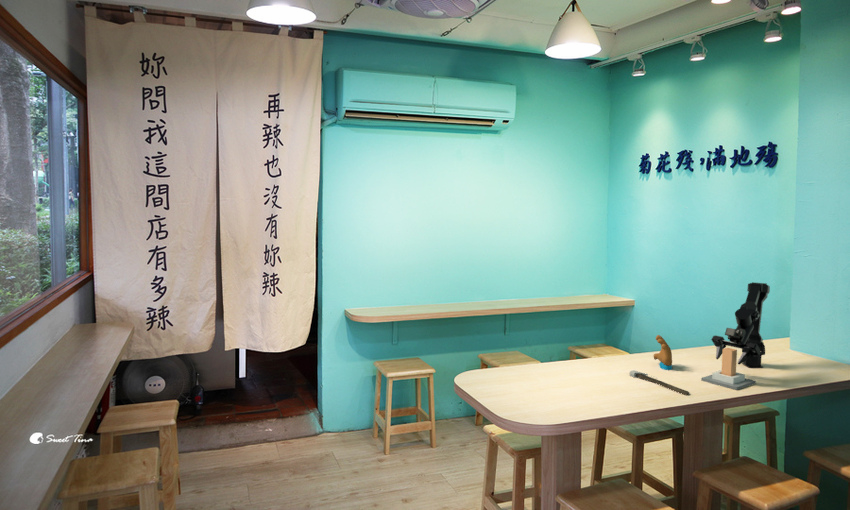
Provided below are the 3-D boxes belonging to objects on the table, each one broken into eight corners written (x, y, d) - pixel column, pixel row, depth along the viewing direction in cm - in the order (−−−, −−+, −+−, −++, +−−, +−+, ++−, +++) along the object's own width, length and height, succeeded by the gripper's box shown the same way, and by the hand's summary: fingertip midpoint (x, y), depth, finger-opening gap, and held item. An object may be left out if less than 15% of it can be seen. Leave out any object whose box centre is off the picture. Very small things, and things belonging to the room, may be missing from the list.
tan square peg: (726, 377, 246) (727, 347, 244) (735, 379, 242) (737, 349, 241) (721, 378, 243) (722, 349, 242) (730, 381, 240) (732, 351, 239)
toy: (652, 362, 272) (653, 331, 270) (668, 363, 271) (669, 332, 269) (657, 370, 260) (658, 337, 259) (673, 371, 259) (675, 338, 257)
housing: (720, 374, 253) (720, 366, 253) (755, 383, 241) (755, 375, 241) (701, 380, 245) (701, 372, 245) (736, 390, 233) (736, 381, 232)
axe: (680, 391, 225) (628, 369, 253) (679, 397, 225) (627, 375, 253) (702, 391, 229) (648, 370, 257) (701, 397, 229) (647, 376, 257)
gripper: (714, 317, 250) (699, 345, 245) (758, 324, 235) (743, 355, 230) (723, 332, 255) (708, 360, 250) (767, 340, 240) (752, 370, 235)
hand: (727, 361), depth 241 cm, fingers open, 9 cm apart
